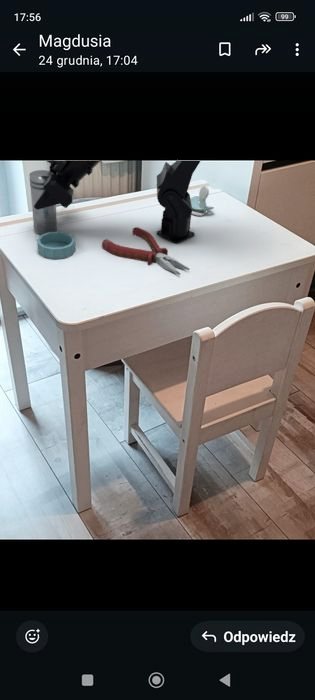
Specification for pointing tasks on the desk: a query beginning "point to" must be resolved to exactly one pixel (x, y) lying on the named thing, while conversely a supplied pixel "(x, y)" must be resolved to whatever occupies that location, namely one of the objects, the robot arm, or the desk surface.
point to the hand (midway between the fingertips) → (37, 202)
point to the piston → (46, 216)
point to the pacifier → (201, 205)
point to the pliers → (145, 252)
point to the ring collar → (56, 245)
